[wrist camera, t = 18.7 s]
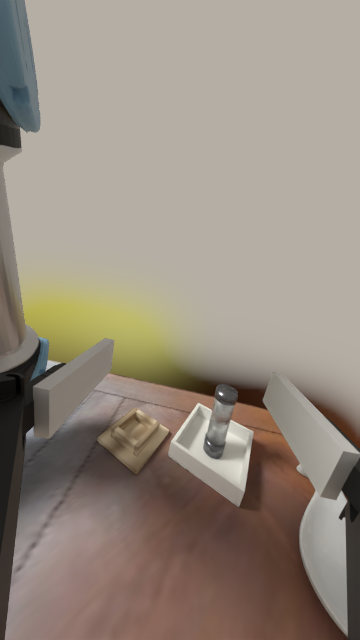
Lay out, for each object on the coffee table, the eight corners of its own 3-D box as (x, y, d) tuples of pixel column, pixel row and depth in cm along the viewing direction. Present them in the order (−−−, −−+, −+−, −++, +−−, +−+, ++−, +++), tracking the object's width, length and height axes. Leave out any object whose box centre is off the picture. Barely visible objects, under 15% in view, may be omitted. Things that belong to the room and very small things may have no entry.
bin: (167, 455, 39) (170, 441, 38) (195, 413, 53) (198, 402, 52) (238, 507, 32) (244, 492, 31) (249, 443, 46) (253, 431, 45)
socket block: (97, 440, 39) (98, 428, 39) (133, 410, 50) (135, 400, 49) (136, 475, 34) (138, 461, 34) (168, 433, 45) (170, 422, 44)
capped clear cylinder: (199, 448, 41) (212, 389, 38) (209, 436, 45) (222, 382, 42) (217, 463, 39) (232, 400, 35) (226, 449, 42) (241, 392, 39)
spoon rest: (432, 726, 18) (472, 694, 16) (301, 626, 22) (322, 592, 20) (335, 488, 39) (347, 464, 38) (278, 460, 43) (287, 438, 42)
